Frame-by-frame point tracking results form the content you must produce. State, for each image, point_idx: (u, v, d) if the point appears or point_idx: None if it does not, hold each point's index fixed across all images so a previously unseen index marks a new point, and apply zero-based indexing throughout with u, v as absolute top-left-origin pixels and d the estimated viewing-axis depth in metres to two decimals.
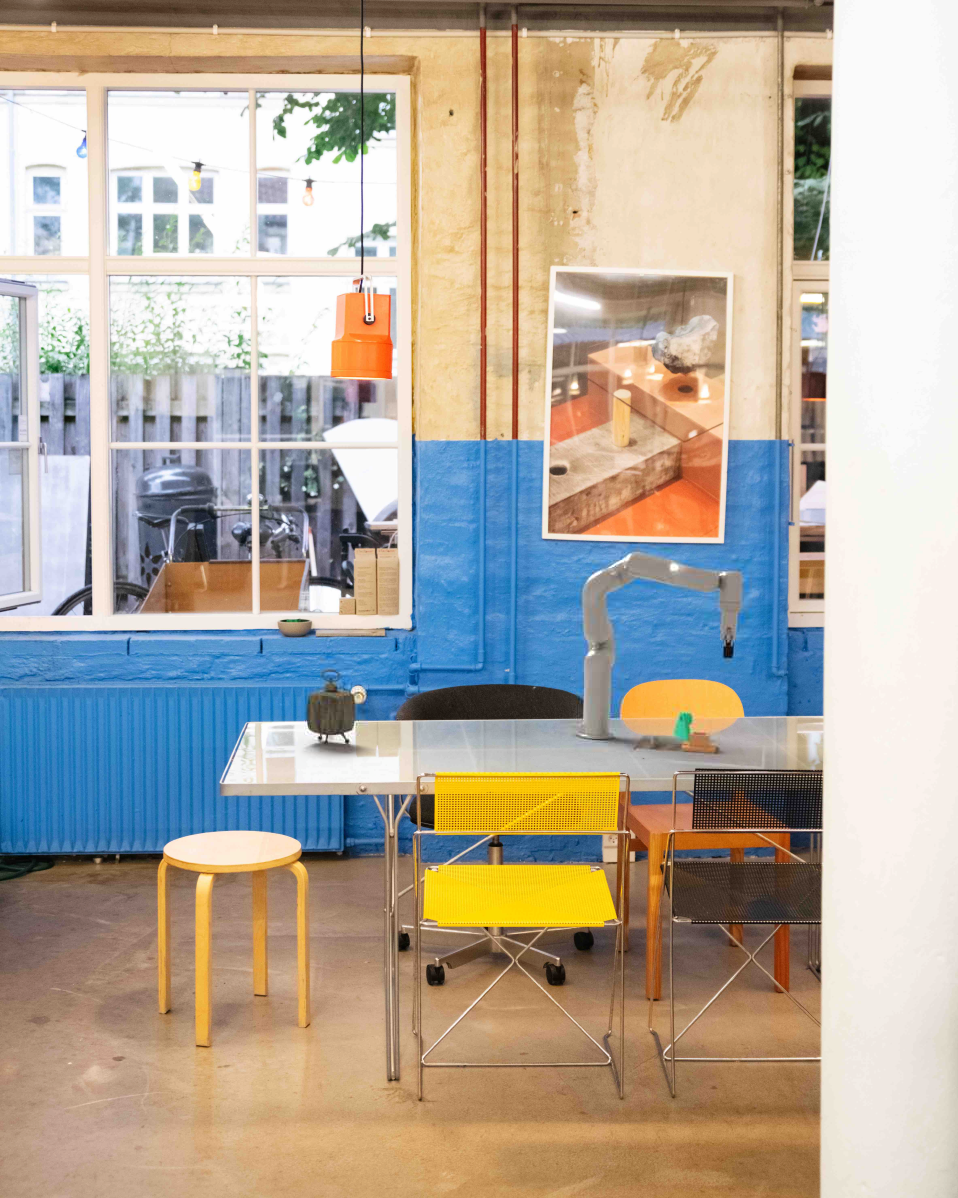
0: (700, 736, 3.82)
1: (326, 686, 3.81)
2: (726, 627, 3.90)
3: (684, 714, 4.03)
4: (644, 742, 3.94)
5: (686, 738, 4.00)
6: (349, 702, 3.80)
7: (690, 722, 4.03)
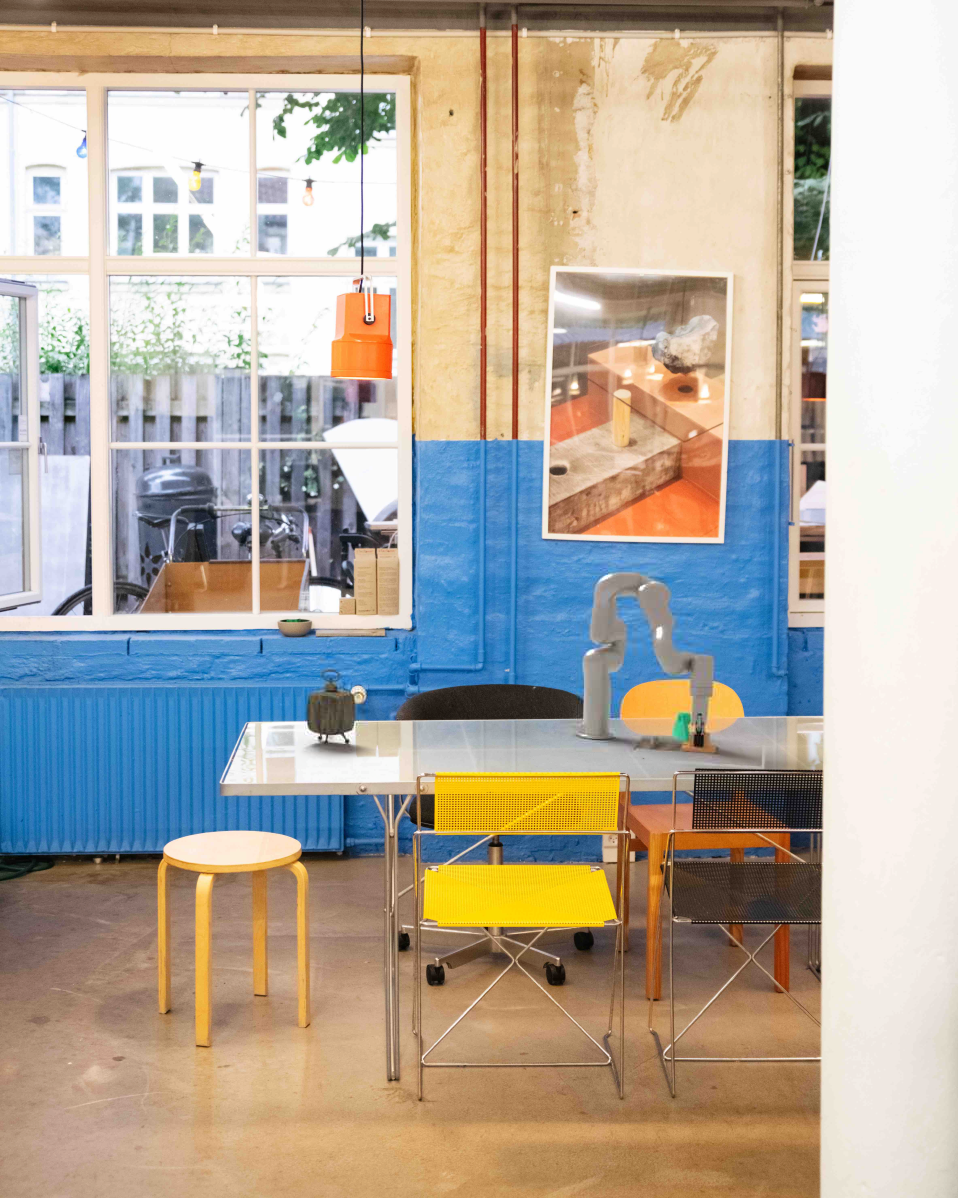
0: None
1: (326, 686, 3.81)
2: (697, 713, 3.80)
3: (683, 714, 4.03)
4: (644, 742, 3.94)
5: (685, 738, 4.00)
6: (349, 702, 3.80)
7: (689, 722, 4.03)
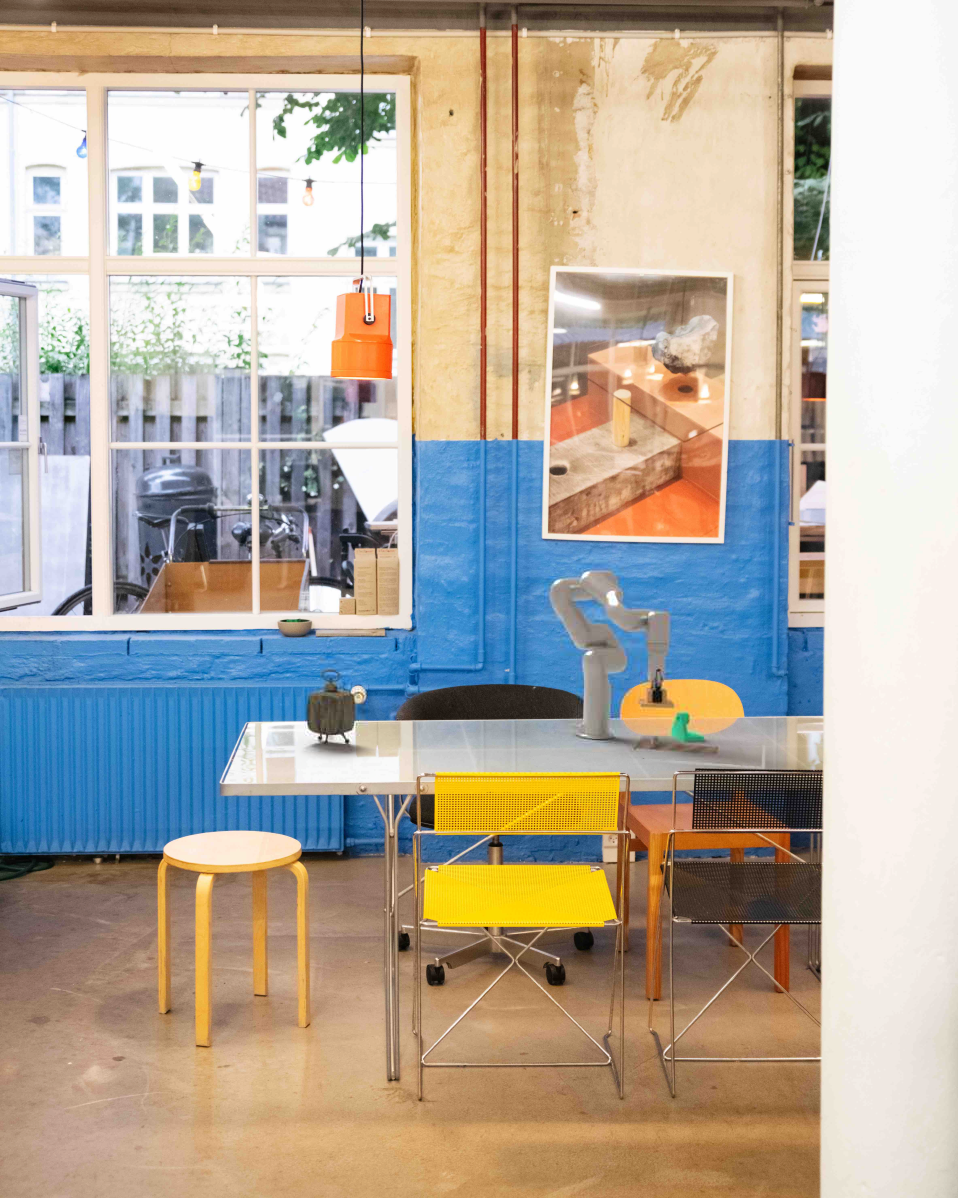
0: None
1: (326, 686, 3.81)
2: (656, 669, 3.82)
3: (681, 714, 4.03)
4: (644, 742, 3.94)
5: (683, 738, 4.00)
6: (349, 702, 3.80)
7: (687, 722, 4.03)
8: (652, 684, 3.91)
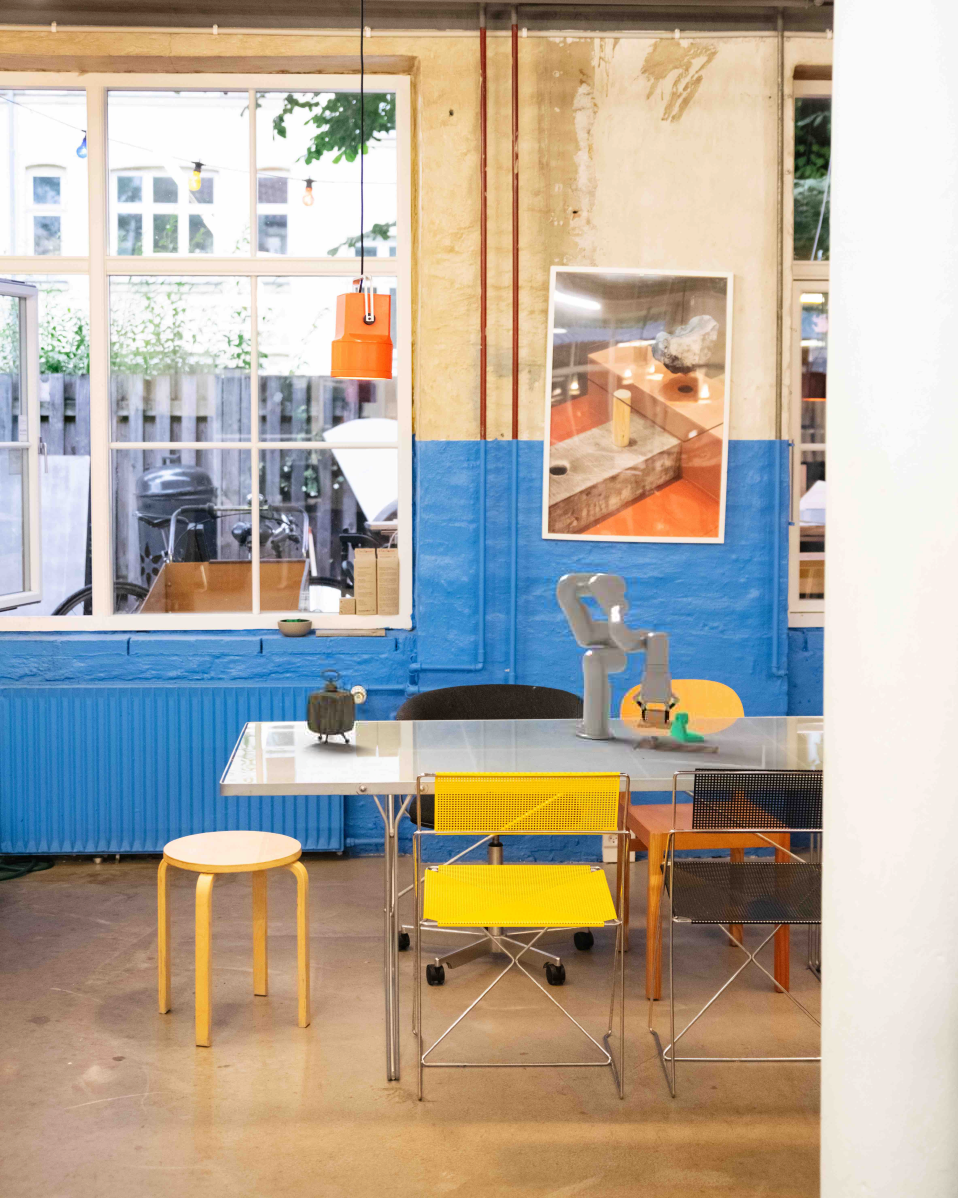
0: None
1: (326, 686, 3.81)
2: None
3: (680, 714, 4.03)
4: (644, 742, 3.94)
5: (682, 738, 4.00)
6: (349, 702, 3.80)
7: (686, 722, 4.03)
8: (645, 706, 3.88)
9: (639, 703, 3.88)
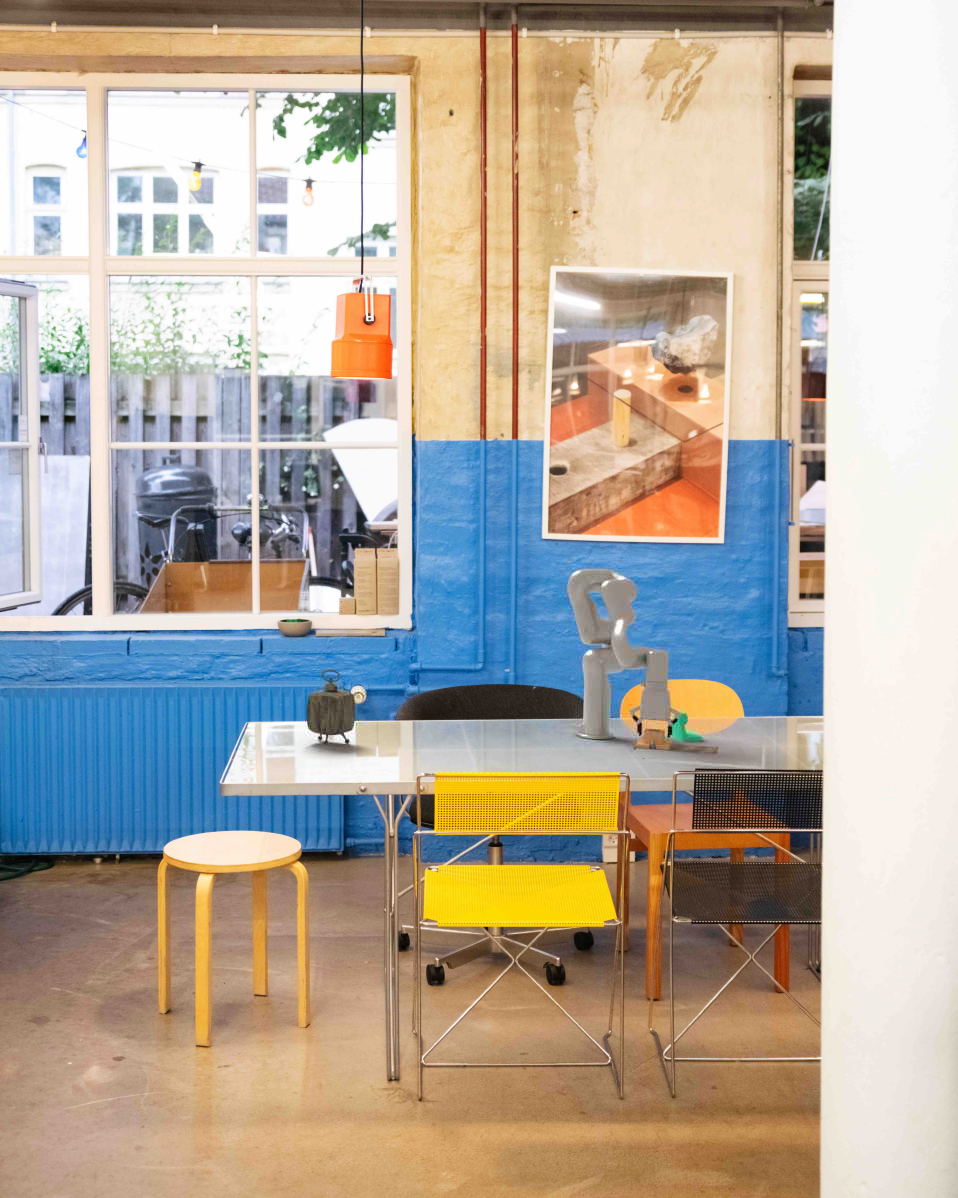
0: (664, 731, 3.88)
1: (326, 686, 3.81)
2: (670, 707, 3.86)
3: None
4: None
5: (681, 738, 3.99)
6: (349, 702, 3.80)
7: (685, 722, 4.03)
8: None
9: (635, 718, 3.89)
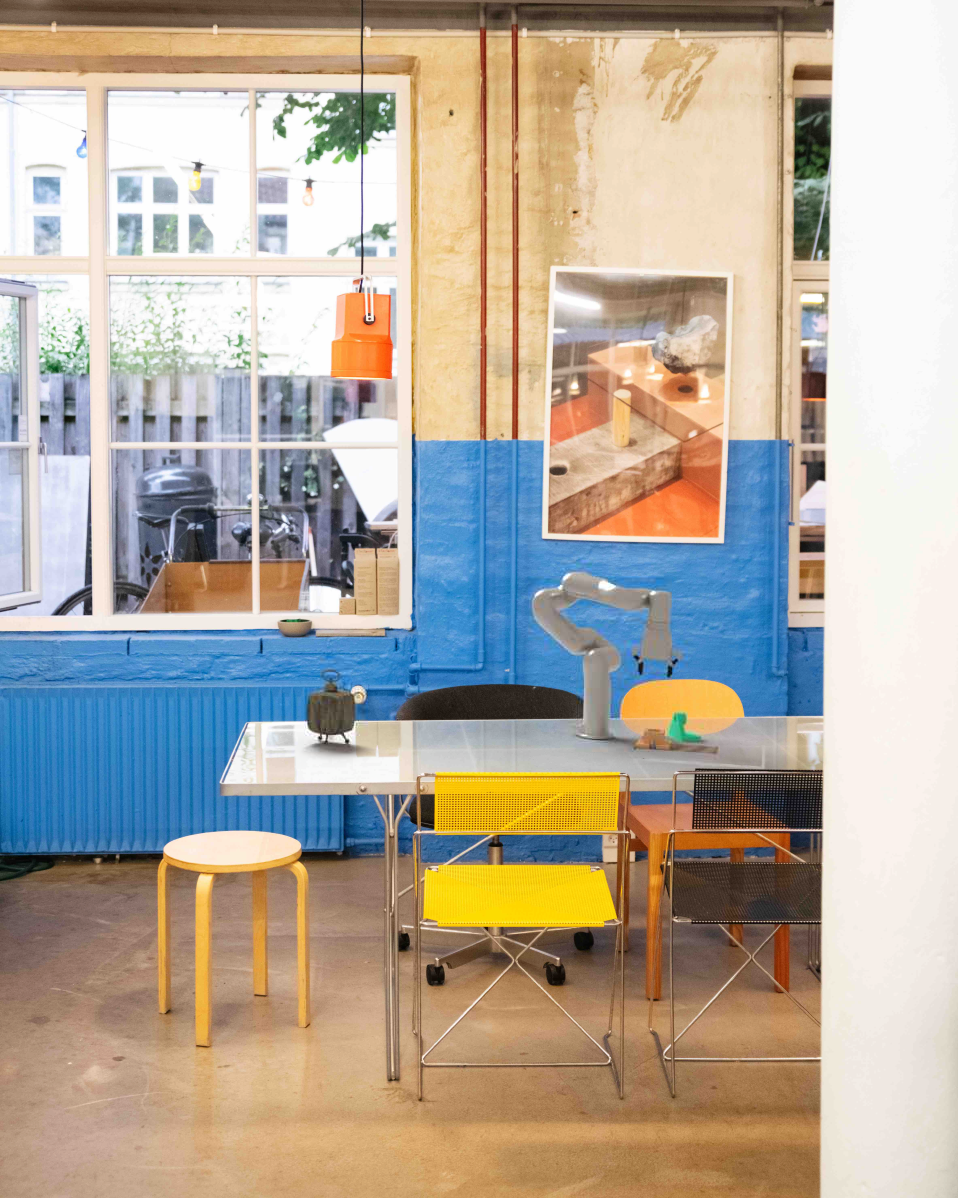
0: (664, 731, 3.88)
1: (326, 686, 3.81)
2: (671, 647, 3.93)
3: (678, 714, 4.03)
4: None
5: (680, 738, 3.99)
6: (349, 702, 3.80)
7: (684, 722, 4.03)
8: (642, 661, 3.97)
9: (636, 657, 3.97)
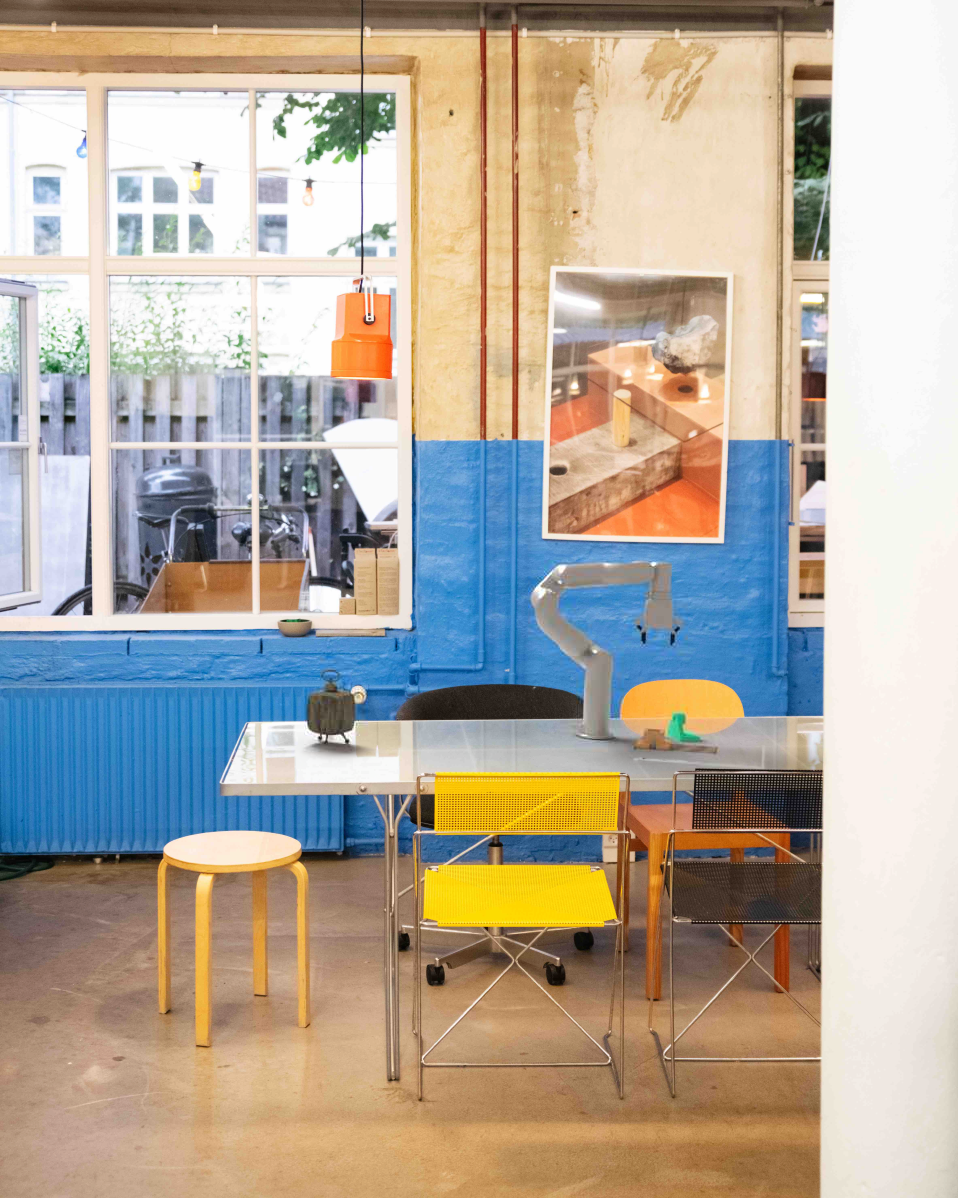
0: (664, 731, 3.88)
1: (326, 686, 3.81)
2: None
3: (677, 714, 4.03)
4: None
5: (679, 738, 3.99)
6: (349, 702, 3.80)
7: (683, 722, 4.03)
8: None
9: (639, 627, 4.10)
